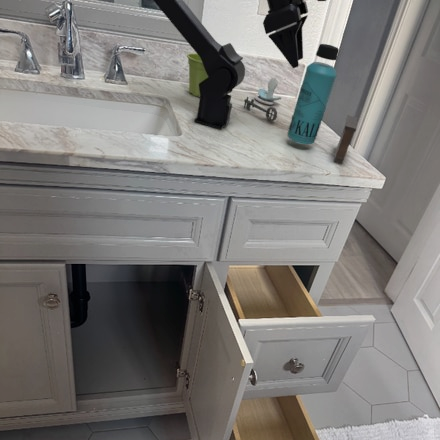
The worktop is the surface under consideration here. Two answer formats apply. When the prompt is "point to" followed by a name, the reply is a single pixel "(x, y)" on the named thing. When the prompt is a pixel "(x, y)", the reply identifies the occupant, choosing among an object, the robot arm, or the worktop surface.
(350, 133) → the dark brown flat block
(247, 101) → the key
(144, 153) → the worktop surface
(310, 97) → the beverage bottle
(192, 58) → the plant pot
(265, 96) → the pacifier
